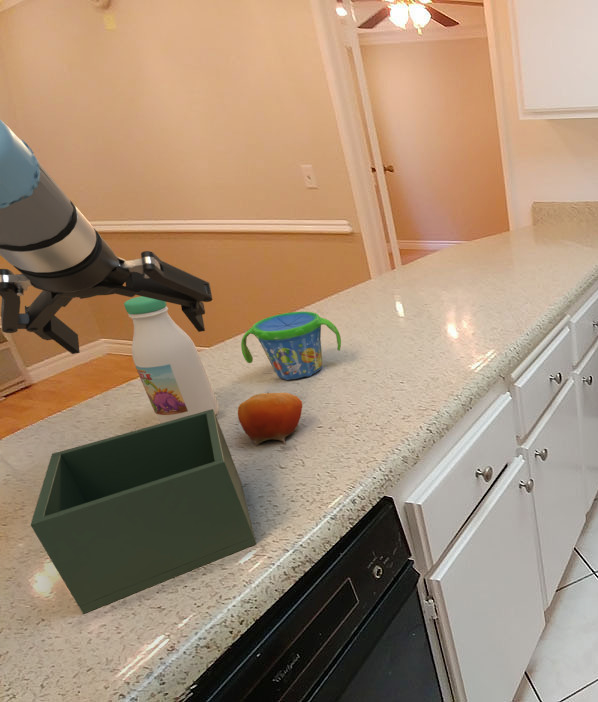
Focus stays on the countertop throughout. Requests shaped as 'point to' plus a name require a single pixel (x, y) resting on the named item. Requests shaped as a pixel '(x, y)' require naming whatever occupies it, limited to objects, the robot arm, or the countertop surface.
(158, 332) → the milk bottle
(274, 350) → the snack cup
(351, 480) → the countertop surface
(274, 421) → the fruit
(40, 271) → the robot arm
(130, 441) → the bin
